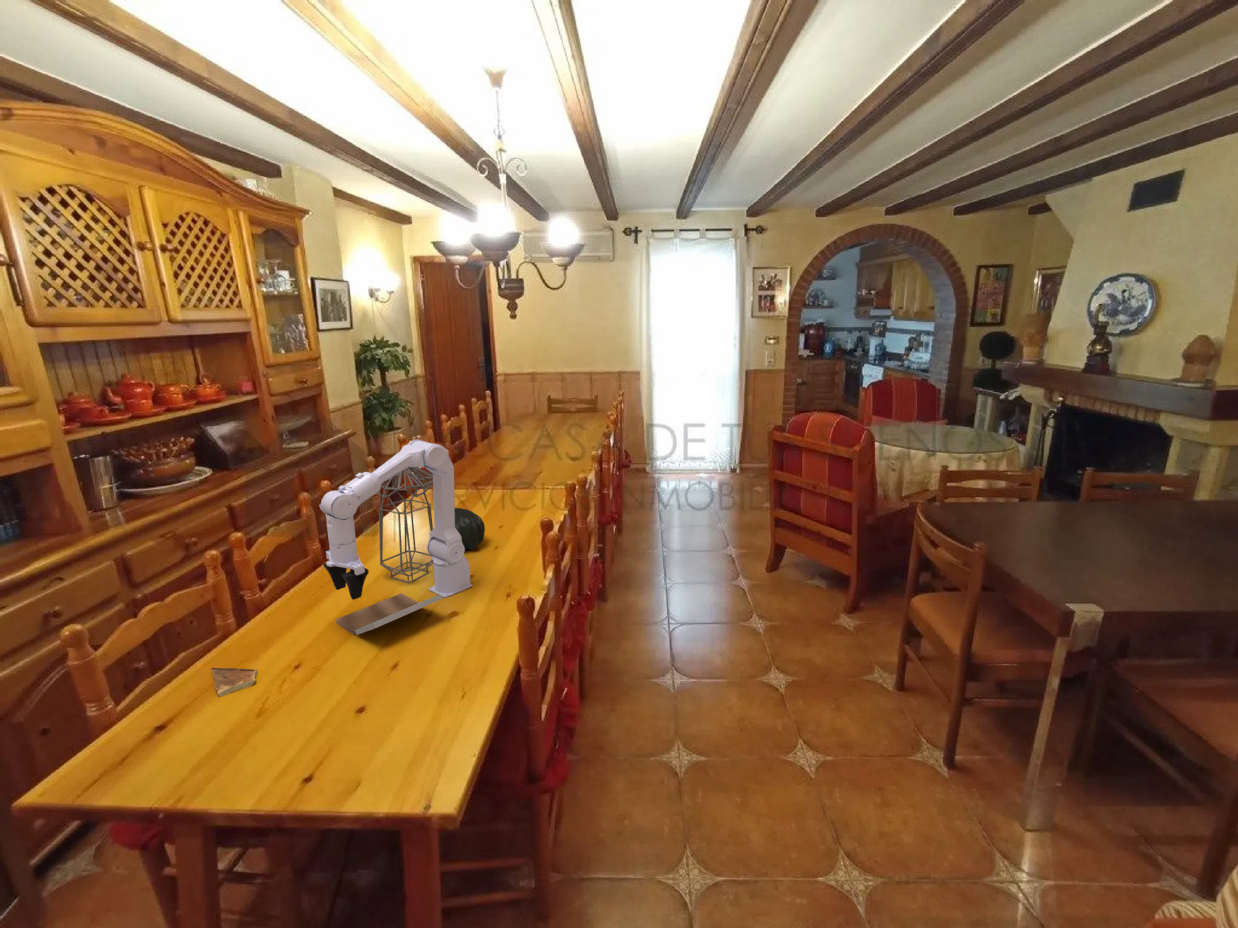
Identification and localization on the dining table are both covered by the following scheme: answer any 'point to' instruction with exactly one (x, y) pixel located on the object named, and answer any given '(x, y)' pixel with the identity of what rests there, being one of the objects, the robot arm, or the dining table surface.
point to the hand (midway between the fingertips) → (348, 592)
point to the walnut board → (375, 612)
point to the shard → (232, 679)
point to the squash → (469, 527)
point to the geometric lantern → (405, 519)
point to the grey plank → (398, 615)
